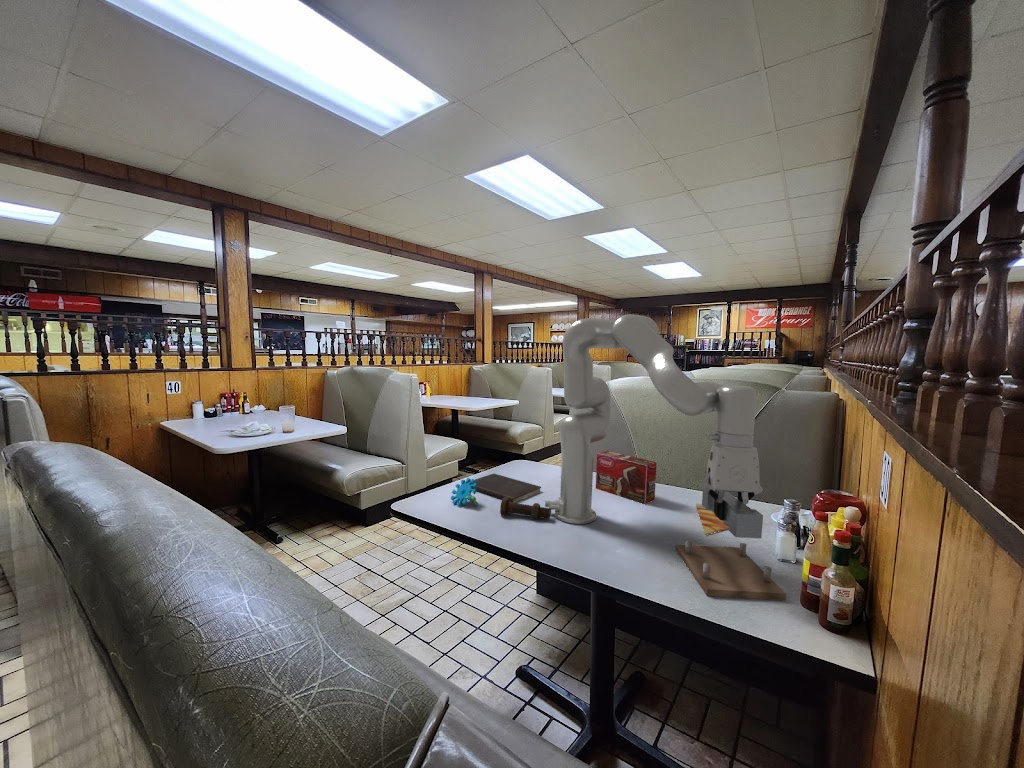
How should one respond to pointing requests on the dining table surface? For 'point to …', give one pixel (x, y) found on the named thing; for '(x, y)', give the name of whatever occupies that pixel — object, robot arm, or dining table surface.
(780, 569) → the dining table surface
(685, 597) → the dining table surface
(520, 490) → the hardcover book
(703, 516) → the pizza slice
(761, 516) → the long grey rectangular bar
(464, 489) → the gear
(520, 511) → the bolt
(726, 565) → the peg rack
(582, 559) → the dining table surface
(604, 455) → the ice cream box
